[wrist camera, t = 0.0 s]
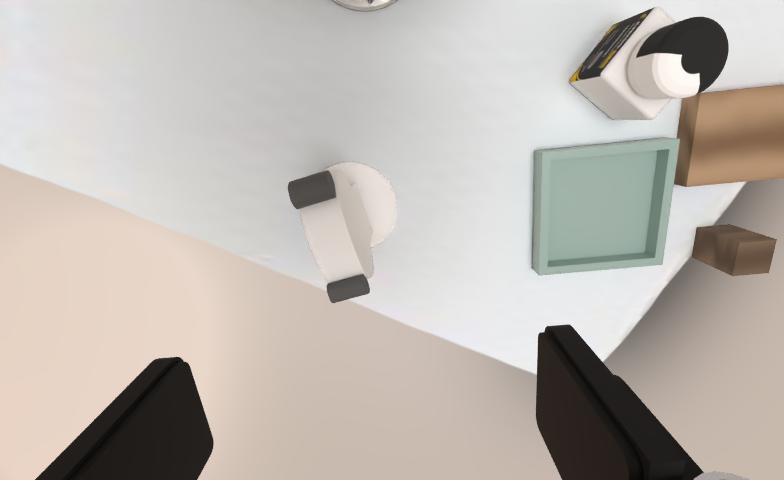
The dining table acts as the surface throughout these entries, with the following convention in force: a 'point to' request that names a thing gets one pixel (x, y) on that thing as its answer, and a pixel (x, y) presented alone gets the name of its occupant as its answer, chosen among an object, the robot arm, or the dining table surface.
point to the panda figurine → (345, 223)
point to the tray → (602, 205)
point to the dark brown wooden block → (733, 249)
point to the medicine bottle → (651, 64)
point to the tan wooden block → (731, 136)
